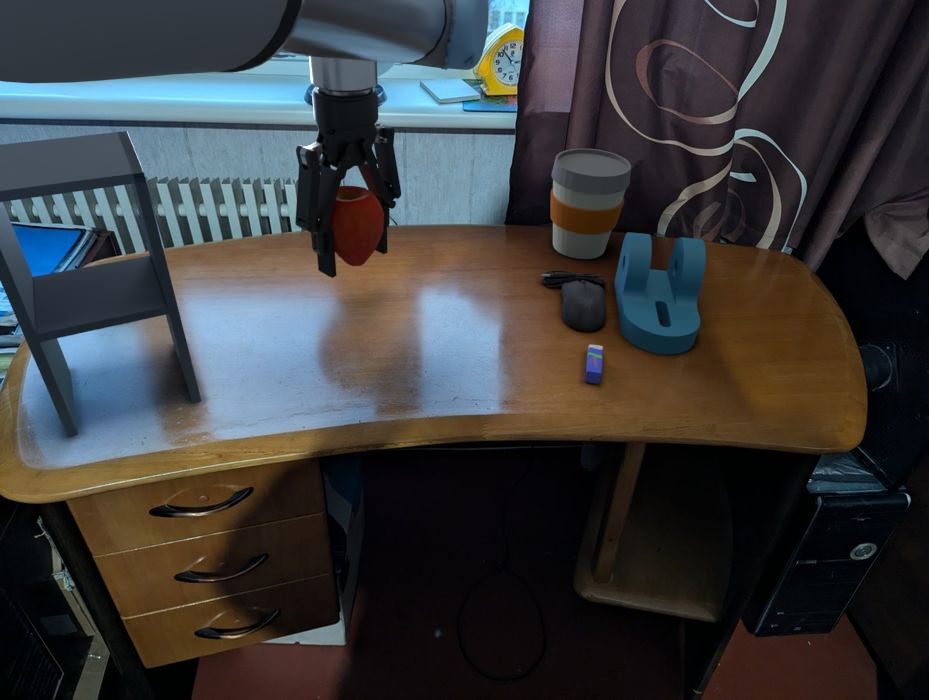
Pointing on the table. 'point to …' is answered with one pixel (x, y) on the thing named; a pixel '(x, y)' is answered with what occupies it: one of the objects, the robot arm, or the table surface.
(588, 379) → the eraser
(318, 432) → the table surface
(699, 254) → the bracket
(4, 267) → the shelf
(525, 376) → the table surface
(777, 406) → the table surface
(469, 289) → the table surface
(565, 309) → the computer mouse
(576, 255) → the reusable coffee cup
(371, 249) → the apple
